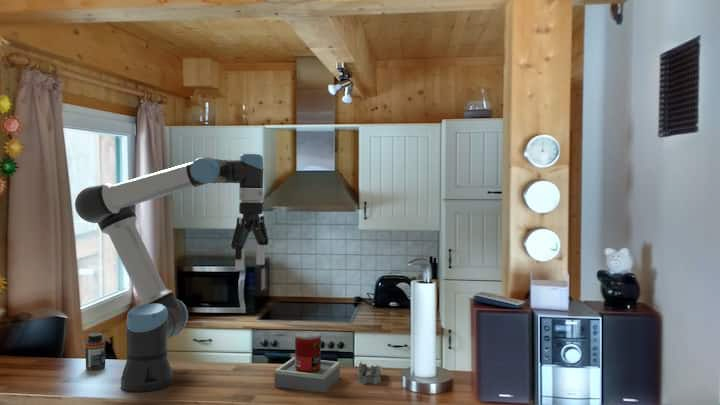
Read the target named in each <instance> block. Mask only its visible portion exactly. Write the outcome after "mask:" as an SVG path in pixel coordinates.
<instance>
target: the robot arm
mask: <svg viewBox="0 0 720 405" xmlns="http://www.w3.org/2000/svg"><path fill="white" fill-rule="evenodd" d="M263 161H264V158H263V156H262V155H261V154H259V153H258V154H257V153H241V154H240V155H239V159H235V160H234V159H233V160H232V159H217V158H212V157H209V156H207V157H206V156H203V157H198V158H196V159H195V160H194V161H192V162H187V163H184V164H181V165H177V166H174V167H171V168H166V169H163V170H160V171H157V172H152V173H150V174H146V175H142V176H139V177H136V178H135V177H134V178H132V179H129V180H125V181H123V182H118V183H116V184H112V183H109V182H107V183H103V184H98V185H95V186H88V187H85V188H84V189H82V190H81V191H80V192H79V193H78V194H77V196H76V198H75V199H74V200H75V201H74V207H75V208H74V209H75V211H76V213H77V215H78V216H79V217H80V218H81V219H82V220H84V221H85V222H88V223H91V224H97V225H98V227H99V229H100V231H101V233H102V234H105V235H108V236H109V238H110V240H111V243H112V245H113V246H114V248H115V251H116V252H117V254H118V256H119V259H120V261H121V263H122V265H123V266H124V269H125V271H126V273H127V276H128V278H129V279H130V281H131V283H132V285H133V288H134V289H135V292H136V294H137V296H138V298H139V301H140V302H139V305H137V306H134V307H132V308H131V309H130V310H129V311H128V312H127V315H126V321H125V325H126V363H125V365H124V368H123V371H122V374H121V377H120V388H121V389H122V390H123V391H124V390H125V391H128V392H134V393H135V392H137V393H138V392H139V393H140V392H141V393H143V392H151V391H157V390H160V389H161V390H162V389H164V388H167V387H169V386H170V385H172V384H173V383H174V372H173V370H172V367H171V364H170V360H169V357H168V340H170V339H171V338H172V337H174V336H176V335H178V334H180V332H182V330H183V329H184V328H185V327H186V325H187V323H188V320H189V311H188V308H187V305H186V304H185V303H184V302H183V301H182V300H179V299H177V298H176V296H175V294H174V291H173V290H171V289H168V288H166V286H165V284H164V282H163V280H162V278H161V276H160V273H159V271H158V269H157V267H156V266H155V263H154V261H153V259H152V257H151V255H150V253H149V251H148V249H147V246H146V244H145V243H144V241H143V238H142V237H141V234H140V232H139V230H138V228H137V226H136V221H137V218H138V217H137V215H136V213H135V207H136V205H137V204H141V203H144V202H148V201H151V200H155V199H158V198H161V197H165V196H169V195H172V194H175V193H178V192H183V191H185V190H189V189H193V188H195V187H200V186H203V185H207V184H239V194H238V195H239V197H238V198H239V201H240V202H239V205H238V206H239V207H238V208H239V209H238V212H239V214H240V215H242V217H241V216H240V217H236V226H235V229H234V233H233V237H232V240H231V244H230V248H231V249H232V250H235V260H234V261H235V264H234V266H235V271H244V270H245V249H244V247H245V243H246V241H247V239H248V236H249V233H251V232H252V233H253V235H254V238H255V240H256V242H257V244H256V247H255V248H256V249H255V250H256V251H255V252H256V254H255V255H256V256H255V257H256V258H255V259H256V260H255V261H256V262H255V264H256V265H257V266H258V265H260V266H262V265H263V266H264V265H265V263H266V262H265V260H266V259H265V258H266V256H265V254H266V251H265V250H266V248H265V247H266V246H267V245H268V244H269V237H268V236H269V235H268V232H267V228H266V224H265V216H264V215H262V214H263V213H264V212H263V211H264V203H263V202H262V201H263V199H264V194H265V193H264V189H263V188H264V169H265V168H264V162H263Z"/></svg>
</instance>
